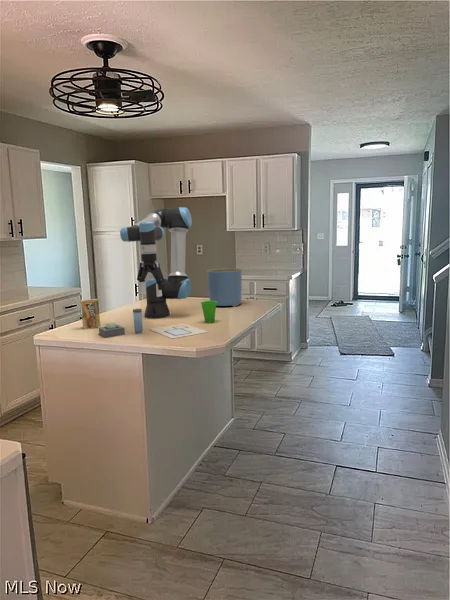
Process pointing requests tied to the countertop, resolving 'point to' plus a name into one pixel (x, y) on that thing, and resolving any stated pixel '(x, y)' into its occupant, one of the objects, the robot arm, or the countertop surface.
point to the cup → (209, 310)
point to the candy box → (90, 313)
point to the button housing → (111, 331)
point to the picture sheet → (178, 331)
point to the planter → (225, 286)
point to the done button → (111, 325)
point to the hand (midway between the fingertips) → (151, 295)
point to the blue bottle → (137, 320)
